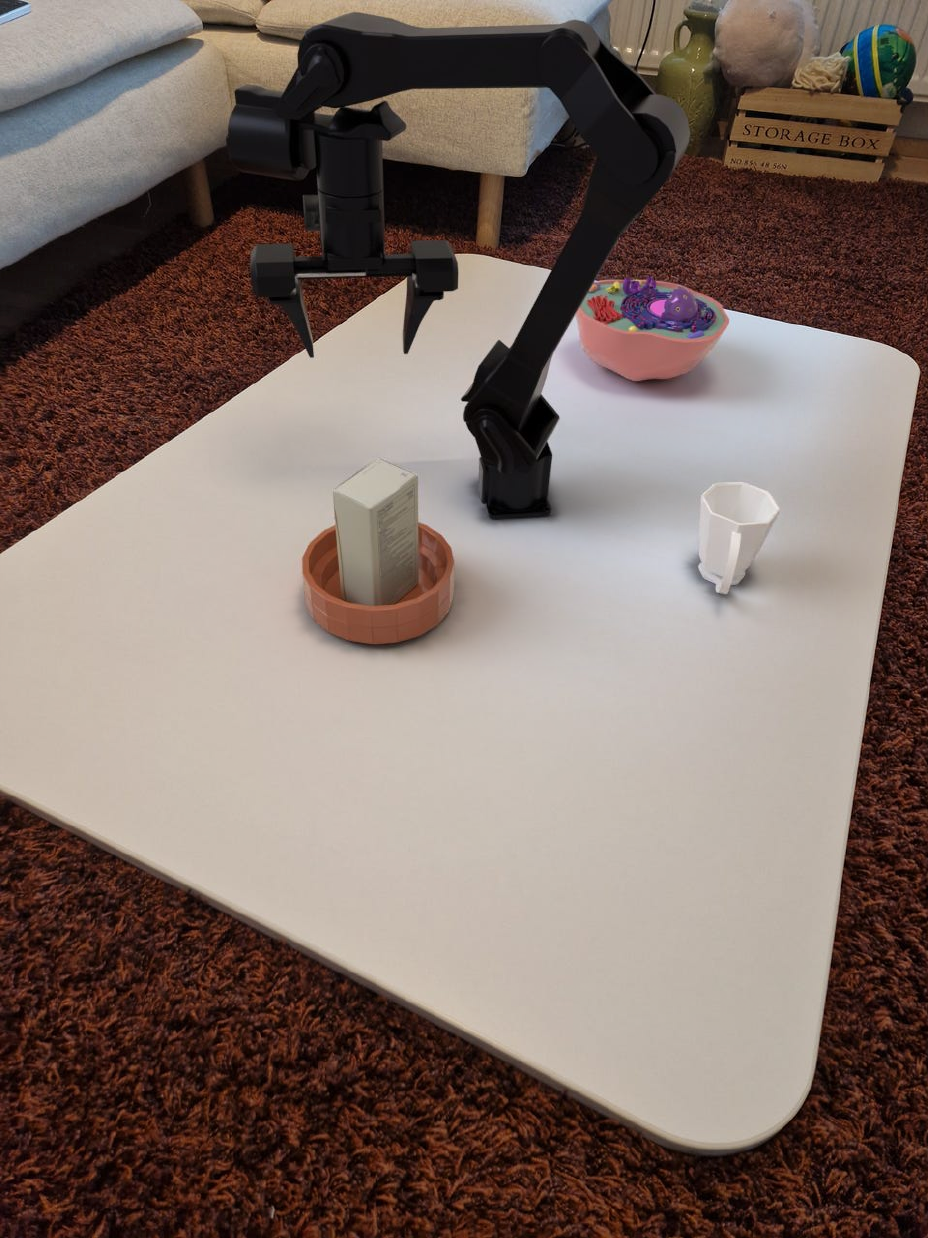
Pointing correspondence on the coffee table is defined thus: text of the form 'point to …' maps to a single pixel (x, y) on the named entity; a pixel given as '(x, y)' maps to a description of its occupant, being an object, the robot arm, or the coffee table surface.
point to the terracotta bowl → (385, 621)
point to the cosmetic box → (377, 533)
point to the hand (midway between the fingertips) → (358, 353)
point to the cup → (732, 530)
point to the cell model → (648, 327)
